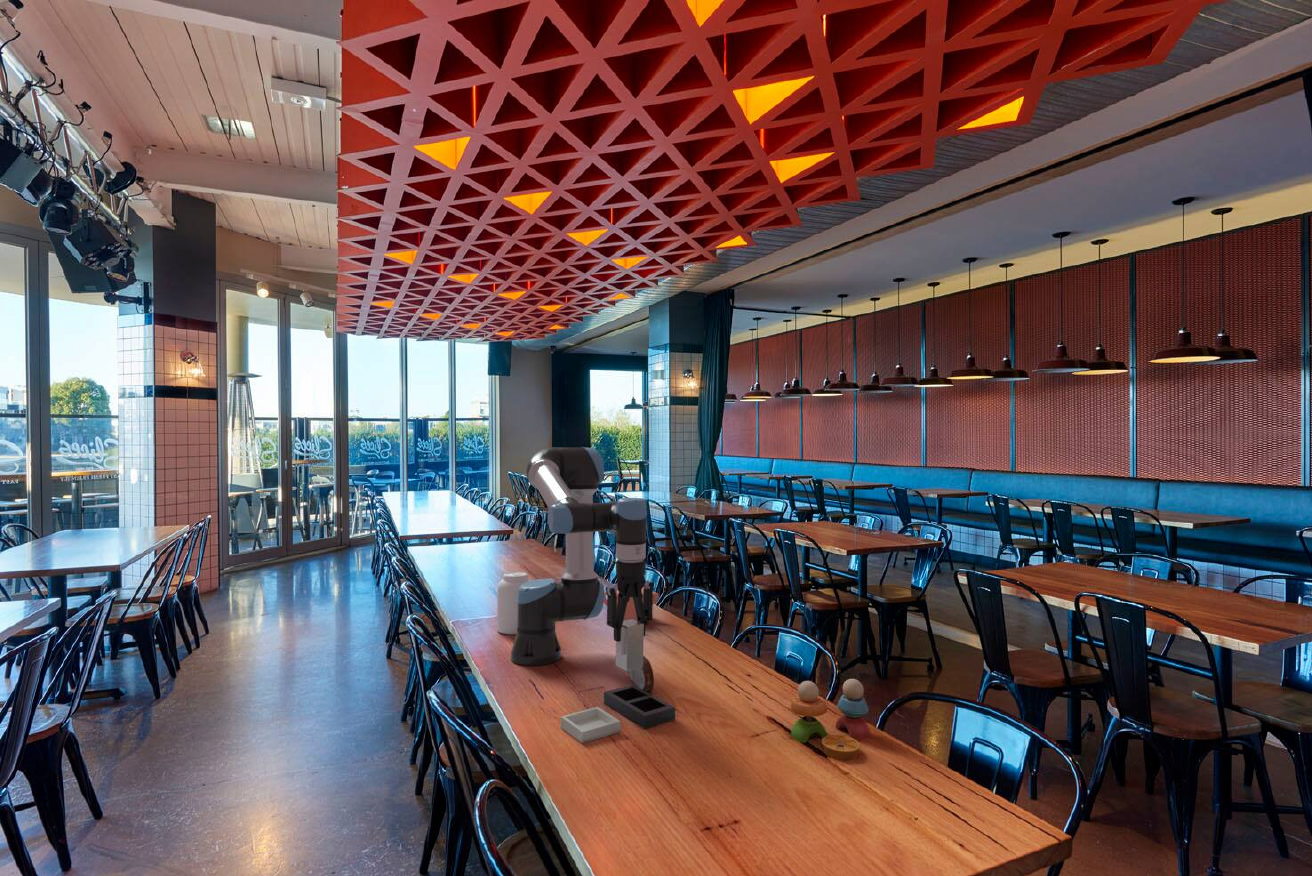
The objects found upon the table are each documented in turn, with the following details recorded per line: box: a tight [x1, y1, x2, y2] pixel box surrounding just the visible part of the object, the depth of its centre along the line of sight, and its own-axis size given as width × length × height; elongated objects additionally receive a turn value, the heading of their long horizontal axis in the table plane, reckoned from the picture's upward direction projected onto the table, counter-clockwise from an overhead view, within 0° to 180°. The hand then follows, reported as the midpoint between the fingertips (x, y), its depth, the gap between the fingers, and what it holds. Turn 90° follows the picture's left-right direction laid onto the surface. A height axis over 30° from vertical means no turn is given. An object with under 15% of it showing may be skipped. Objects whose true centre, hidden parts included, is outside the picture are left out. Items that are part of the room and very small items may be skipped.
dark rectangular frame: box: [603, 683, 676, 730], centre depth 162 cm, size 18×9×3 cm, turn 36°
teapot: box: [603, 587, 659, 621], centre depth 246 cm, size 20×22×14 cm
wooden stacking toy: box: [790, 678, 871, 761], centre depth 147 cm, size 18×17×12 cm
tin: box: [627, 654, 655, 692], centre depth 179 cm, size 15×3×8 cm, turn 22°
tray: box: [560, 706, 621, 744], centre depth 151 cm, size 10×10×2 cm
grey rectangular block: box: [615, 619, 645, 672], centre depth 166 cm, size 5×5×11 cm
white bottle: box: [496, 571, 532, 636], centre depth 230 cm, size 12×12×20 cm
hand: (629, 651), depth 166 cm, fingers closed on grey rectangular block, 5 cm apart
